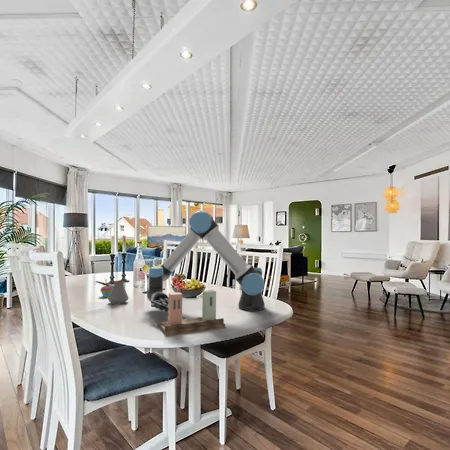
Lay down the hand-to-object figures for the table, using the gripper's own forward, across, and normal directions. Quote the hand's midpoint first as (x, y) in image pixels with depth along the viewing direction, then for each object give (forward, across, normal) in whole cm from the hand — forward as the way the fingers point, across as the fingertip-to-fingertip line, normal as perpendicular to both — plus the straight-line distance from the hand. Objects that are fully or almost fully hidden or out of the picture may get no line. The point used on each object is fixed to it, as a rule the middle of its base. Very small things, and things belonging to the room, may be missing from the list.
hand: (173, 310), depth 133 cm
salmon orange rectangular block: (+2, 0, -6) cm, 7 cm away
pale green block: (+3, -16, -6) cm, 18 cm away
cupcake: (-84, +20, -8) cm, 86 cm away
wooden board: (+1, -8, -8) cm, 11 cm away
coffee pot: (-59, +20, -8) cm, 62 cm away
